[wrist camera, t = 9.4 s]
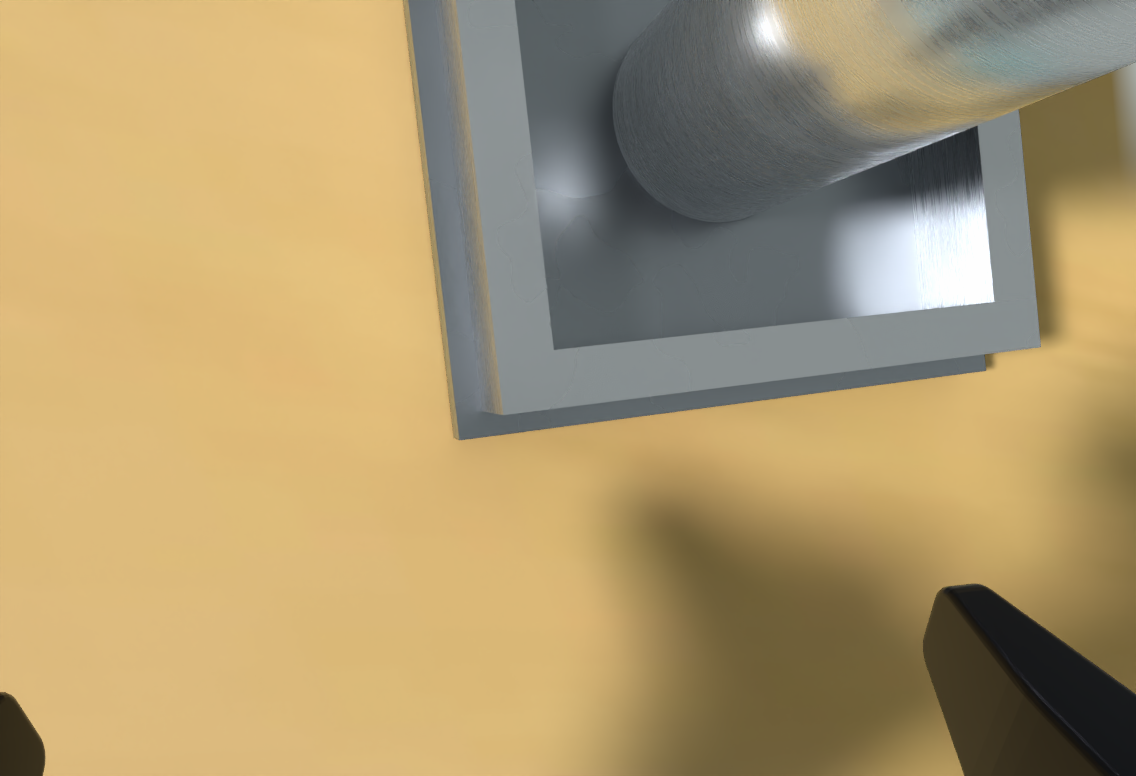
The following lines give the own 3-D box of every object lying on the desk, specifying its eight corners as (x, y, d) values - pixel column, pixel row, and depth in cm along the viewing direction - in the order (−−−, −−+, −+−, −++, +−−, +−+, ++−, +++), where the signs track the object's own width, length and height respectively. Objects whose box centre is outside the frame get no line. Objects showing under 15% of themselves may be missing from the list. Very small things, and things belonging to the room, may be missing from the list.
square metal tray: (961, 370, 21) (1063, 369, 18) (453, 437, 18) (477, 448, 15) (911, -149, 20) (1007, -236, 18) (382, -171, 17) (393, -282, 14)
